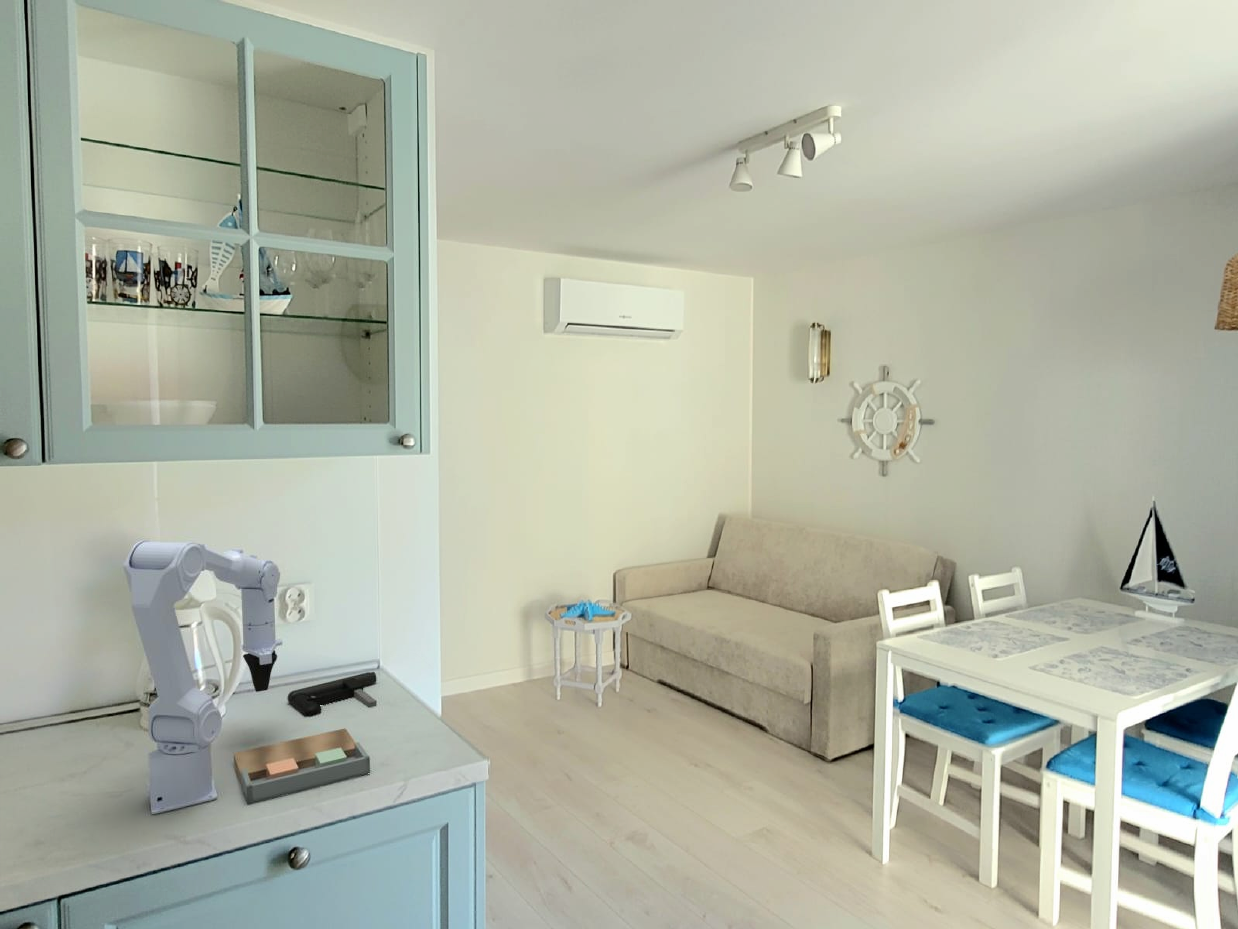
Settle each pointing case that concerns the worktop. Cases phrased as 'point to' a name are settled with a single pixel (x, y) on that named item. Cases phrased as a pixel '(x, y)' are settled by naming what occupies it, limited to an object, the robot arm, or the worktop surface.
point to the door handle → (332, 693)
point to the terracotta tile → (281, 769)
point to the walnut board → (292, 752)
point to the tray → (305, 778)
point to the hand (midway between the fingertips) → (261, 690)
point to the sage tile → (329, 757)
